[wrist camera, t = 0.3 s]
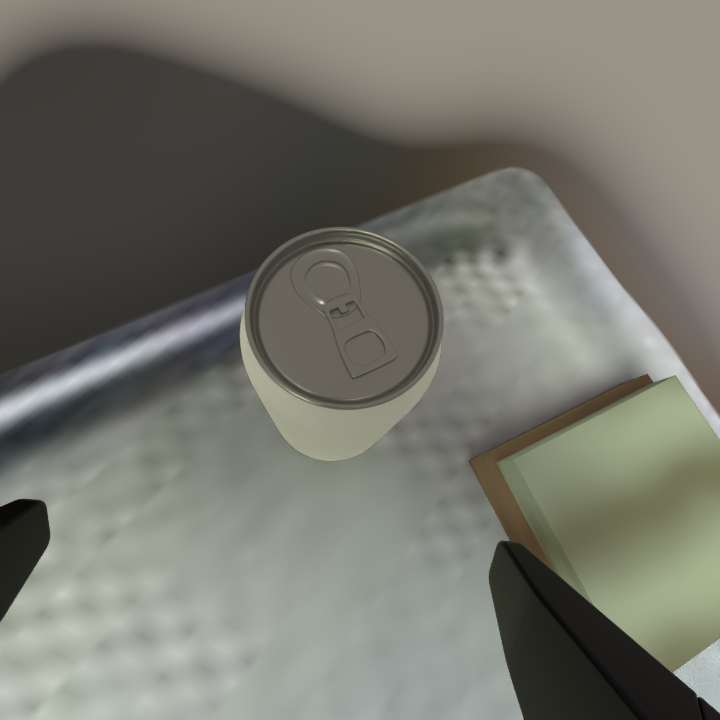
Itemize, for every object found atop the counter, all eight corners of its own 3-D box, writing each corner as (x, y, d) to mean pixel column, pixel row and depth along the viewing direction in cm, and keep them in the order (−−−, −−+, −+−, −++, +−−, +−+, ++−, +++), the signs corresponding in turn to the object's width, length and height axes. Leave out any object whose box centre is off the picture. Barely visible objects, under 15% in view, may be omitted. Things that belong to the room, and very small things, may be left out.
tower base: (739, 564, 22) (825, 577, 19) (579, 673, 20) (640, 715, 16) (622, 383, 25) (676, 363, 21) (468, 460, 23) (498, 453, 19)
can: (356, 329, 24) (389, 186, 13) (410, 427, 23) (501, 360, 12) (253, 377, 23) (191, 261, 12) (304, 484, 22) (290, 471, 10)
